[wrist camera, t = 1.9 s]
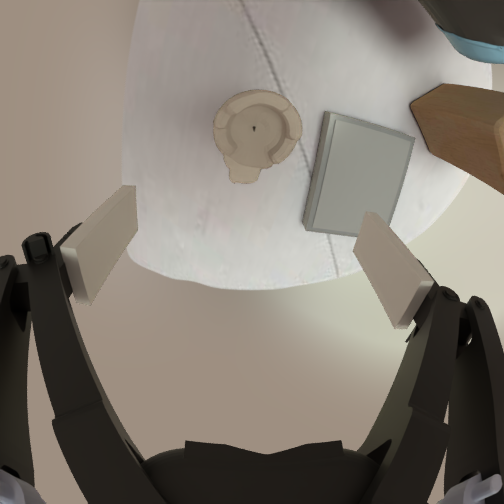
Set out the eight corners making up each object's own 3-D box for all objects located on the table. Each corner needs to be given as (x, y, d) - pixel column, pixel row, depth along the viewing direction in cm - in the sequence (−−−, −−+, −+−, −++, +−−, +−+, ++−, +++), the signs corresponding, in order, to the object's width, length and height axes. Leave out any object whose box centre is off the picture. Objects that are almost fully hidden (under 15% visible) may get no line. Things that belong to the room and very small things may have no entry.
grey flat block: (325, 111, 35) (331, 112, 32) (405, 134, 36) (416, 138, 33) (302, 222, 44) (306, 231, 41) (377, 232, 45) (384, 241, 42)
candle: (218, 181, 40) (197, 253, 23) (231, 89, 33) (214, 83, 16) (266, 187, 41) (280, 263, 24) (283, 97, 34) (317, 100, 17)
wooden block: (429, 155, 37) (511, 204, 20) (406, 103, 33) (498, 127, 16) (464, 131, 34) (546, 168, 17) (444, 81, 30) (534, 97, 13)
